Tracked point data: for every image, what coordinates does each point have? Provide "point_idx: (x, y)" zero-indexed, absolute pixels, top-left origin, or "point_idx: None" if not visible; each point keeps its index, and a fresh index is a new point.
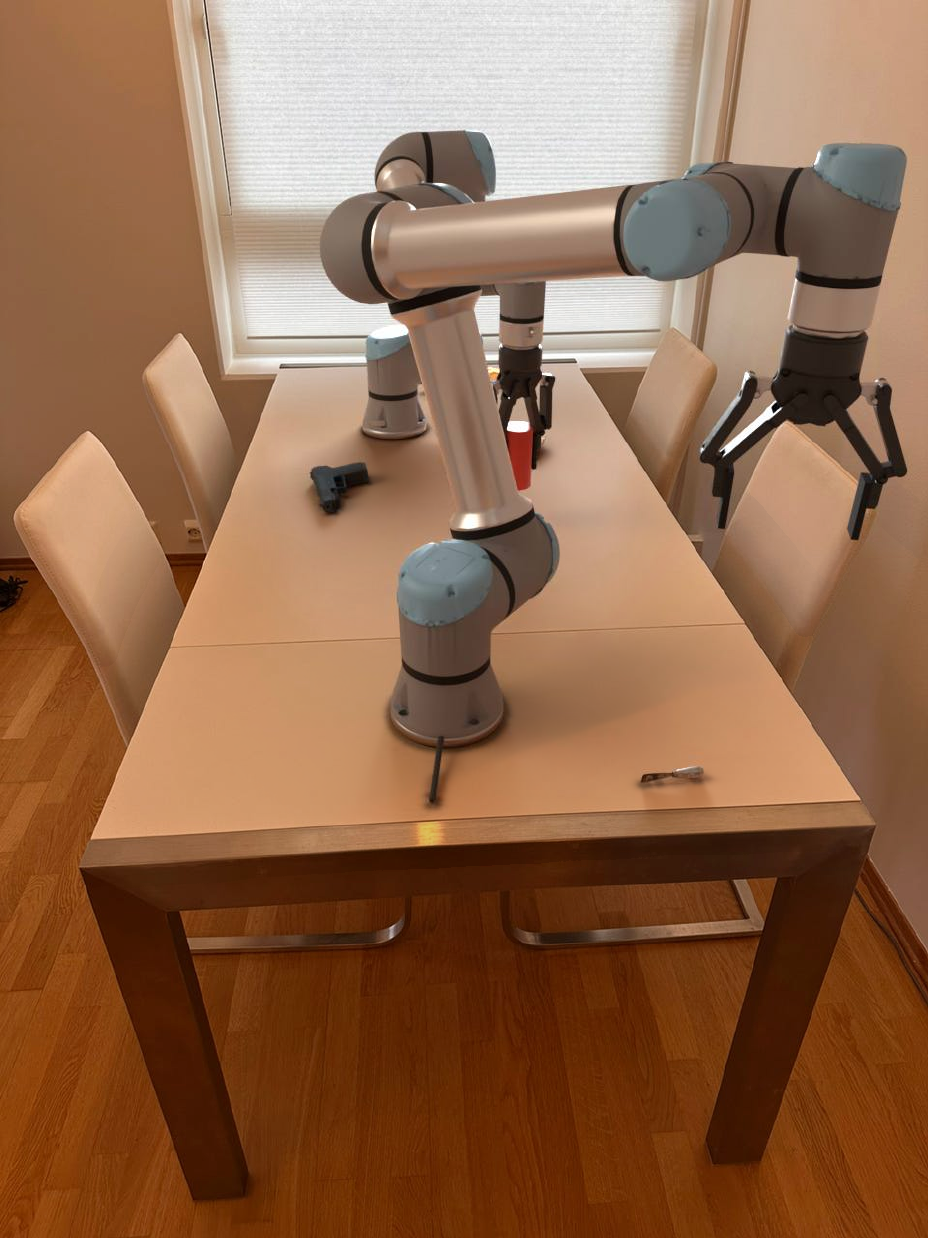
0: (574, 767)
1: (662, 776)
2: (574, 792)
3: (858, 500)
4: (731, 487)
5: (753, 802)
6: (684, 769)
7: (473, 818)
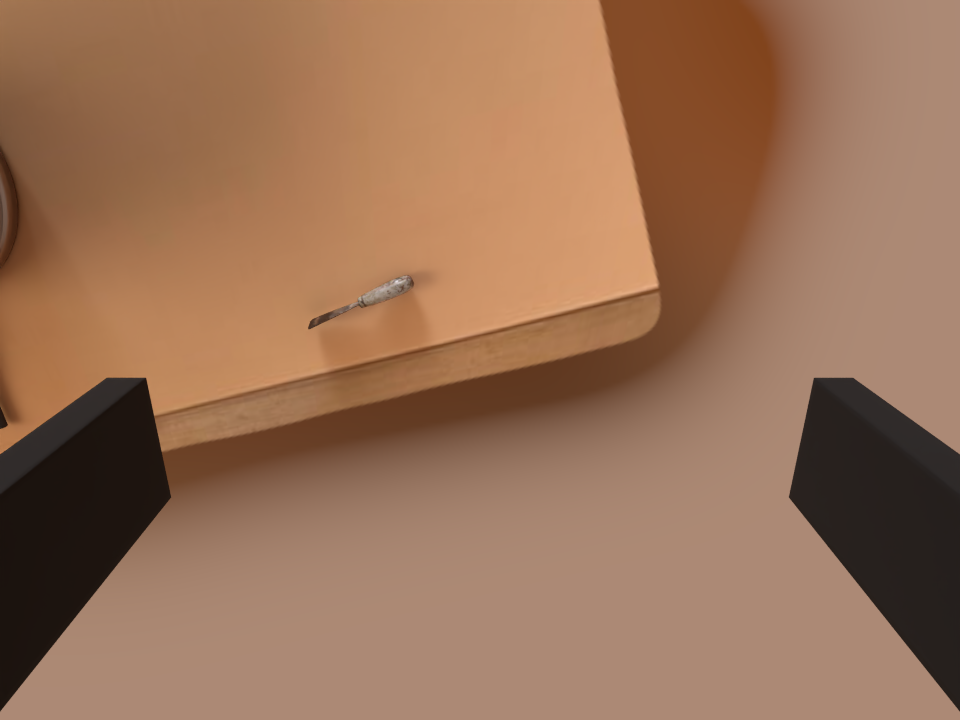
0: (194, 296)
1: (343, 309)
2: (210, 356)
3: (929, 612)
4: (7, 698)
5: (498, 323)
6: (378, 297)
7: None
